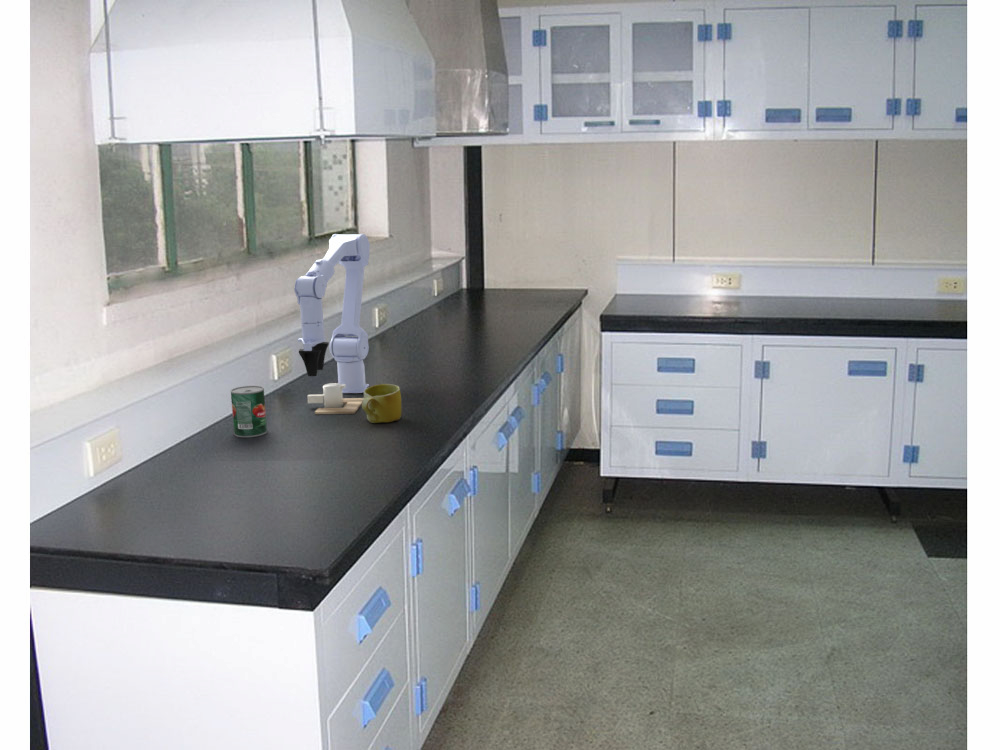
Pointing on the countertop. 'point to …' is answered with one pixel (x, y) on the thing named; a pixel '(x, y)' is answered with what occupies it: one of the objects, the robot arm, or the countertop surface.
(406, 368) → the countertop surface
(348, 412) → the dock
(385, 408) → the mug
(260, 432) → the canned tomato
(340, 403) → the white piece
